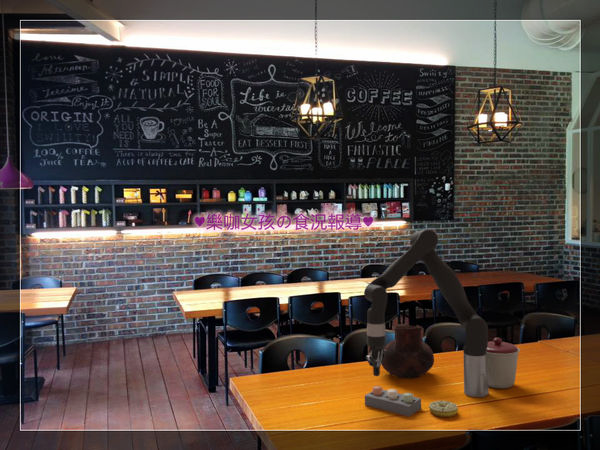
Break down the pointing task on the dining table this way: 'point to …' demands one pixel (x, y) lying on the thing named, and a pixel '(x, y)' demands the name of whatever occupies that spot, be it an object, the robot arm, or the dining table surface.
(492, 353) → the canister
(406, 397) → the sage button
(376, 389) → the terracotta button
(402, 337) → the jug
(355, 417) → the dining table surface
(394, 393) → the ivory button
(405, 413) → the block
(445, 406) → the decorated donut
